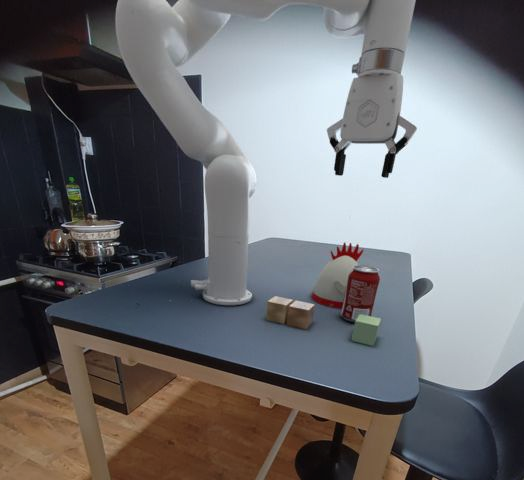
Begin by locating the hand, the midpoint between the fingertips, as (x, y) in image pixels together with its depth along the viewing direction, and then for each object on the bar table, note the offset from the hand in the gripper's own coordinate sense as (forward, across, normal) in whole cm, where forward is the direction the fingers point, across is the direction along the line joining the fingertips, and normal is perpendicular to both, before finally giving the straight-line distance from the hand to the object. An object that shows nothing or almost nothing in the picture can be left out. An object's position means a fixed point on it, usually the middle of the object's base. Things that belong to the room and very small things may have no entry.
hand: (361, 176), depth 66 cm
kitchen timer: (+30, -3, +8) cm, 31 cm away
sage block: (+30, +10, -13) cm, 34 cm away
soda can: (+30, +6, -3) cm, 30 cm away
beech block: (+29, -3, -14) cm, 33 cm away
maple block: (+29, -8, -15) cm, 34 cm away
